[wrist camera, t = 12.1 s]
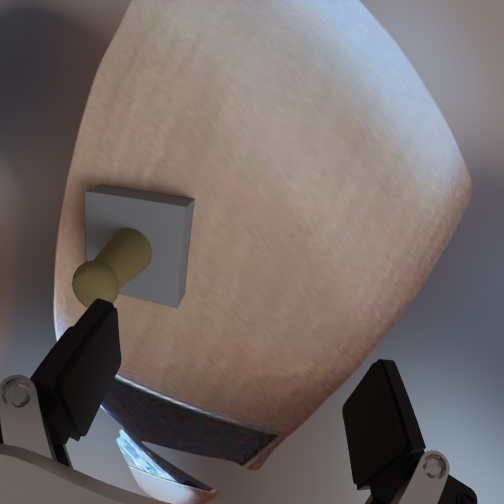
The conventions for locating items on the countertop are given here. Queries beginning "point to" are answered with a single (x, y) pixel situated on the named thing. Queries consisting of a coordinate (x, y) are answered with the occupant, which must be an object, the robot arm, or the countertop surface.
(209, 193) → the countertop surface
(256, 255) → the countertop surface
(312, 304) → the countertop surface
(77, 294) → the cork
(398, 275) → the countertop surface
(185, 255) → the base block
